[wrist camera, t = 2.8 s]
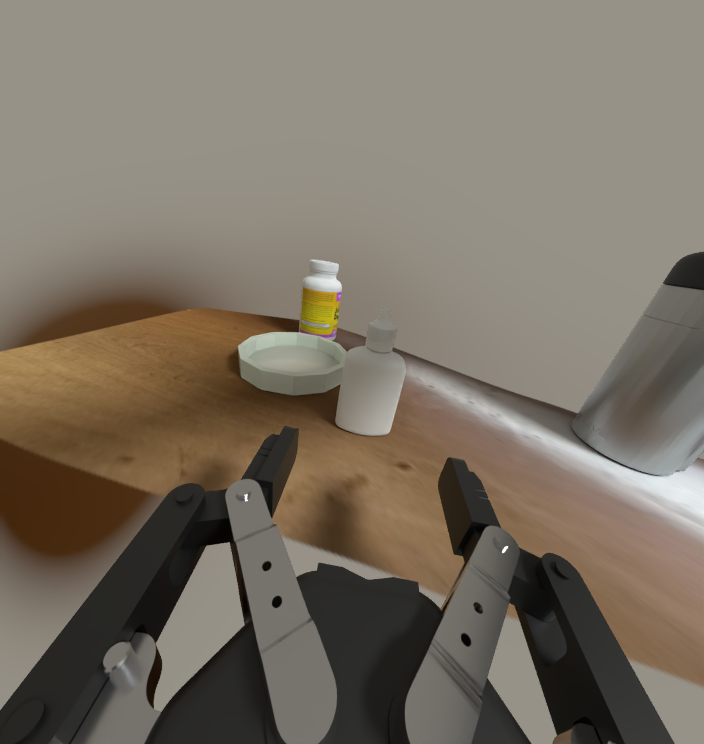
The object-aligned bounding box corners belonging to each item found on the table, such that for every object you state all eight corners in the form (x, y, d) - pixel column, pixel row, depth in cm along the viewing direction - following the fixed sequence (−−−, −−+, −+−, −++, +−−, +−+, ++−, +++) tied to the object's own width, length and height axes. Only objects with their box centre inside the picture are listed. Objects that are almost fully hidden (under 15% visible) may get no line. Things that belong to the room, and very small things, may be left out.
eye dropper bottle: (351, 405, 30) (370, 298, 24) (395, 427, 27) (427, 314, 22) (327, 422, 26) (343, 303, 21) (376, 449, 24) (408, 322, 19)
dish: (350, 356, 42) (352, 342, 41) (337, 403, 30) (340, 384, 29) (265, 341, 42) (265, 326, 41) (217, 381, 30) (215, 361, 29)
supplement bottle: (336, 345, 46) (347, 267, 40) (297, 342, 44) (302, 260, 39) (334, 333, 51) (342, 263, 46) (299, 329, 50) (304, 257, 44)
